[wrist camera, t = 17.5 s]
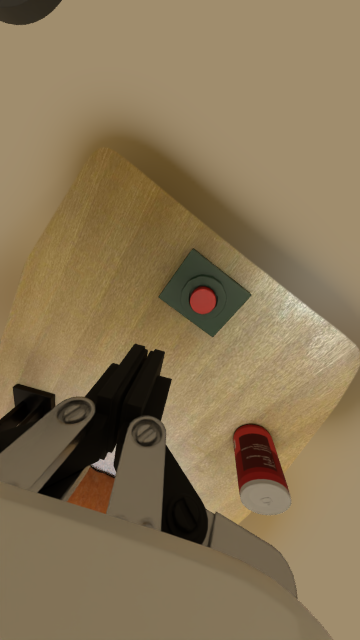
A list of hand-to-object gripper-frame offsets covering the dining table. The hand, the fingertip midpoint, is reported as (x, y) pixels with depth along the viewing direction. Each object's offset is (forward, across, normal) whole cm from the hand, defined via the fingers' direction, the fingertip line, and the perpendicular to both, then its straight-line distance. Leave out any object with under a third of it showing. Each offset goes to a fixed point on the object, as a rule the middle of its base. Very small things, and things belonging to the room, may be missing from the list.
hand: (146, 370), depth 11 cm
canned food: (+23, -20, +27) cm, 41 cm away
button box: (+23, -3, 0) cm, 23 cm away
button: (+20, -3, +1) cm, 20 cm away
